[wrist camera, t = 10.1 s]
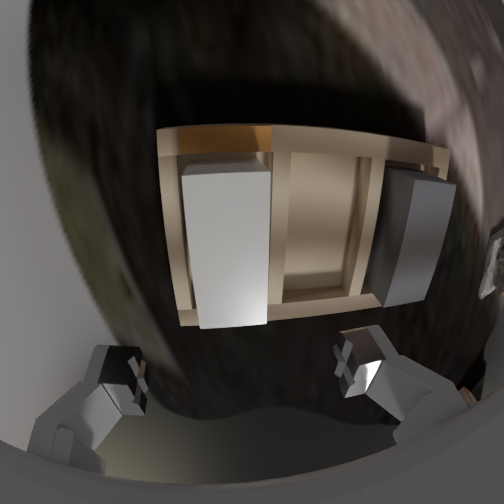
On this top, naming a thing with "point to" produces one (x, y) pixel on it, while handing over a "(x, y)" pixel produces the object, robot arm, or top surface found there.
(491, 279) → the packaged product
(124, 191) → the top surface
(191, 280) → the rack
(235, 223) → the white rectangular block
